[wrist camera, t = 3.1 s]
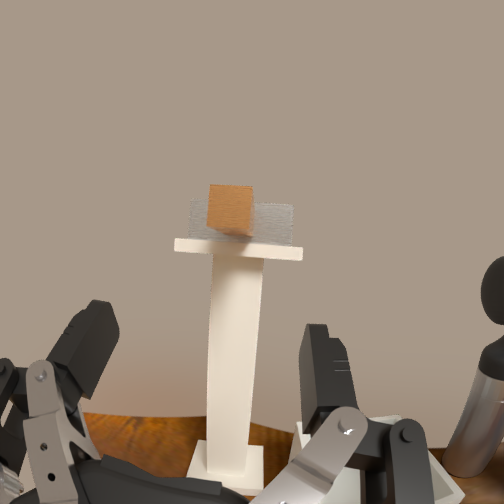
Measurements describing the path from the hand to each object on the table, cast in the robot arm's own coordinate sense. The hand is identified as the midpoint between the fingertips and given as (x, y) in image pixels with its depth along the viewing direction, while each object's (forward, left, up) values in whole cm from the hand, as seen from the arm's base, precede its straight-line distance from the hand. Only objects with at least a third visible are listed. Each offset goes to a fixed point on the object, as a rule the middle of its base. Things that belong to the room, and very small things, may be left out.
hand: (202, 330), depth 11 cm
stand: (0, -20, -28) cm, 35 cm away
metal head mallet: (0, -14, +4) cm, 15 cm away
